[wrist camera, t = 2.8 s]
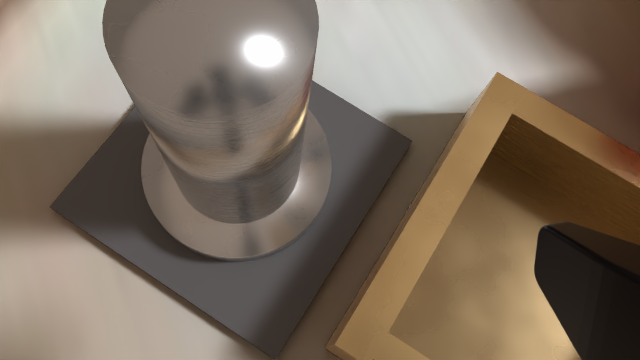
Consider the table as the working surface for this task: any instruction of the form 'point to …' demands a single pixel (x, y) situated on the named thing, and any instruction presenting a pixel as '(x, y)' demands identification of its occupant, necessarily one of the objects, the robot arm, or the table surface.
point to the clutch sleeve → (225, 119)
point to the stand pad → (238, 277)
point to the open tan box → (490, 236)
